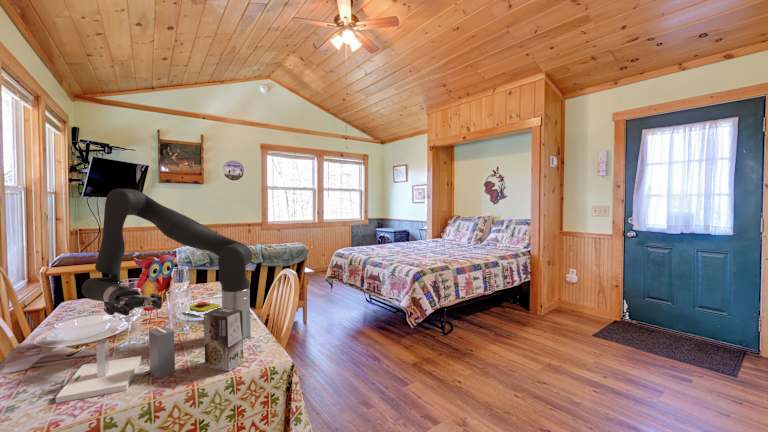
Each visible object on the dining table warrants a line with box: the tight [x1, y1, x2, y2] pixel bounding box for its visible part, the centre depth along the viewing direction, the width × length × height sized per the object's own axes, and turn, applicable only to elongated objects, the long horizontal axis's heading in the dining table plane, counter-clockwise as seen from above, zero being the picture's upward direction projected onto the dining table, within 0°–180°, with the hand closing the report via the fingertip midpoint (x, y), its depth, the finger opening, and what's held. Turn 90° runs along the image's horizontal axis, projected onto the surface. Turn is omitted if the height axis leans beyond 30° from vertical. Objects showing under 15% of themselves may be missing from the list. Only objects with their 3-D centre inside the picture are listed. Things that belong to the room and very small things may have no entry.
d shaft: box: [95, 338, 110, 378], centre depth 95 cm, size 3×2×9 cm, turn 25°
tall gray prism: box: [148, 326, 176, 379], centre depth 99 cm, size 6×4×12 cm
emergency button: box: [189, 301, 221, 312], centre depth 151 cm, size 9×4×15 cm
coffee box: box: [203, 307, 244, 372], centre depth 103 cm, size 9×6×16 cm
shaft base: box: [55, 355, 142, 404], centre depth 95 cm, size 18×14×2 cm
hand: (144, 309), depth 105 cm, fingers open, 8 cm apart
